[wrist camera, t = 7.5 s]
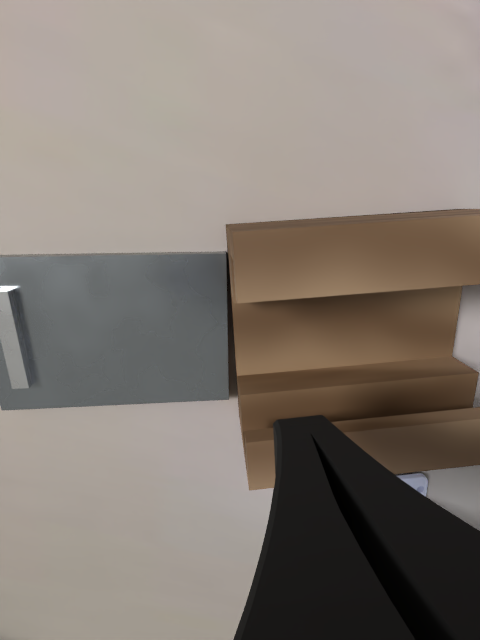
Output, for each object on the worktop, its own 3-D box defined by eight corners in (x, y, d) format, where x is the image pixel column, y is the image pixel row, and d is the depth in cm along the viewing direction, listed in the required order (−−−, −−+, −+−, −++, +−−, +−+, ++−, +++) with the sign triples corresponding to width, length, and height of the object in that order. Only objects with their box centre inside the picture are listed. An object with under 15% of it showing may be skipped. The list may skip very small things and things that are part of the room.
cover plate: (227, 387, 20) (229, 404, 18) (16, 396, 19) (-4, 415, 18) (225, 250, 18) (226, 255, 16) (-18, 253, 17) (-46, 259, 15)
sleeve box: (433, 397, 21) (509, 461, 16) (239, 416, 20) (249, 490, 15) (459, 209, 17) (568, 209, 12) (225, 224, 17) (232, 231, 11)
